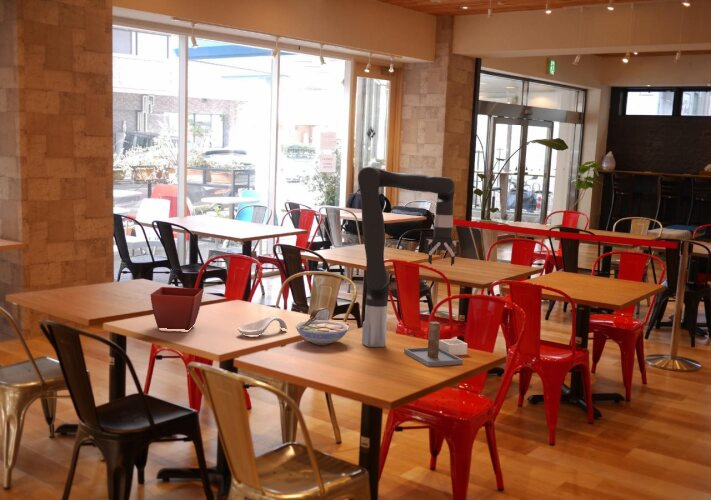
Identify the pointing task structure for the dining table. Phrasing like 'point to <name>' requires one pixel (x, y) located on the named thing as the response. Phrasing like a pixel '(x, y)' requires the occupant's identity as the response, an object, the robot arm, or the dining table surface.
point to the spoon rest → (260, 326)
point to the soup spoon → (320, 314)
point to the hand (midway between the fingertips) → (441, 264)
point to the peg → (433, 339)
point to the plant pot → (176, 307)
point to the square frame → (453, 346)
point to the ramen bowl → (321, 331)
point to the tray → (442, 359)
